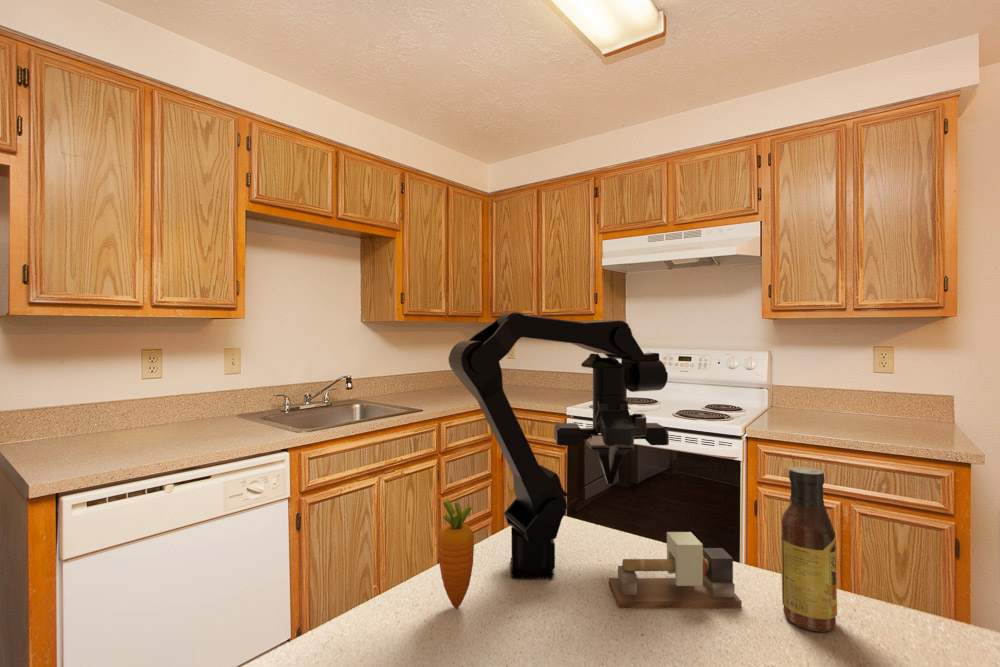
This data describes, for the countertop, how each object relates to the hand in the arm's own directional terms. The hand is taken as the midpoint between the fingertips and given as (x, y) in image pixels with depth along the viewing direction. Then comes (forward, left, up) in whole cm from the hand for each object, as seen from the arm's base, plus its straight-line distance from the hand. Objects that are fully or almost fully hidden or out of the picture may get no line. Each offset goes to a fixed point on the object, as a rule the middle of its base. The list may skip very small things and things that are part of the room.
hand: (609, 483), depth 87 cm
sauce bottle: (+22, -20, -12) cm, 32 cm away
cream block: (+8, -14, -9) cm, 19 cm away
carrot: (-25, -17, -12) cm, 33 cm away
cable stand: (+6, -14, -12) cm, 19 cm away
